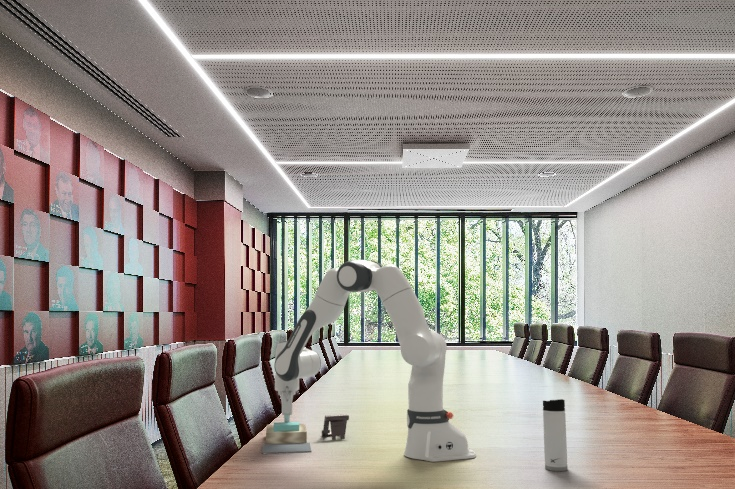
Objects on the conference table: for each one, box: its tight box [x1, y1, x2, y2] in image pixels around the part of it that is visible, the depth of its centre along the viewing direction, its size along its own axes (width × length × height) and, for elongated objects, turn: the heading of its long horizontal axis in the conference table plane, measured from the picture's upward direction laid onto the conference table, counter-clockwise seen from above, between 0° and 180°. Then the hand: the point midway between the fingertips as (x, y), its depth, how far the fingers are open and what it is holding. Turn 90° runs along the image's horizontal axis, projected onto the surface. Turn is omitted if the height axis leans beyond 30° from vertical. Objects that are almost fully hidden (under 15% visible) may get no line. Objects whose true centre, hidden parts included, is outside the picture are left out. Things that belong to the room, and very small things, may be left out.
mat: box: [261, 442, 312, 454], centre depth 207 cm, size 16×13×1 cm
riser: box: [265, 423, 308, 444], centre depth 221 cm, size 14×16×4 cm
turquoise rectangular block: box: [273, 421, 300, 431], centre depth 219 cm, size 9×6×2 cm, turn 98°
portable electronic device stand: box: [321, 413, 350, 441], centre depth 225 cm, size 9×8×8 cm
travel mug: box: [542, 398, 569, 472], centre depth 179 cm, size 6×7×20 cm
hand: (286, 423), depth 224 cm, fingers closed
